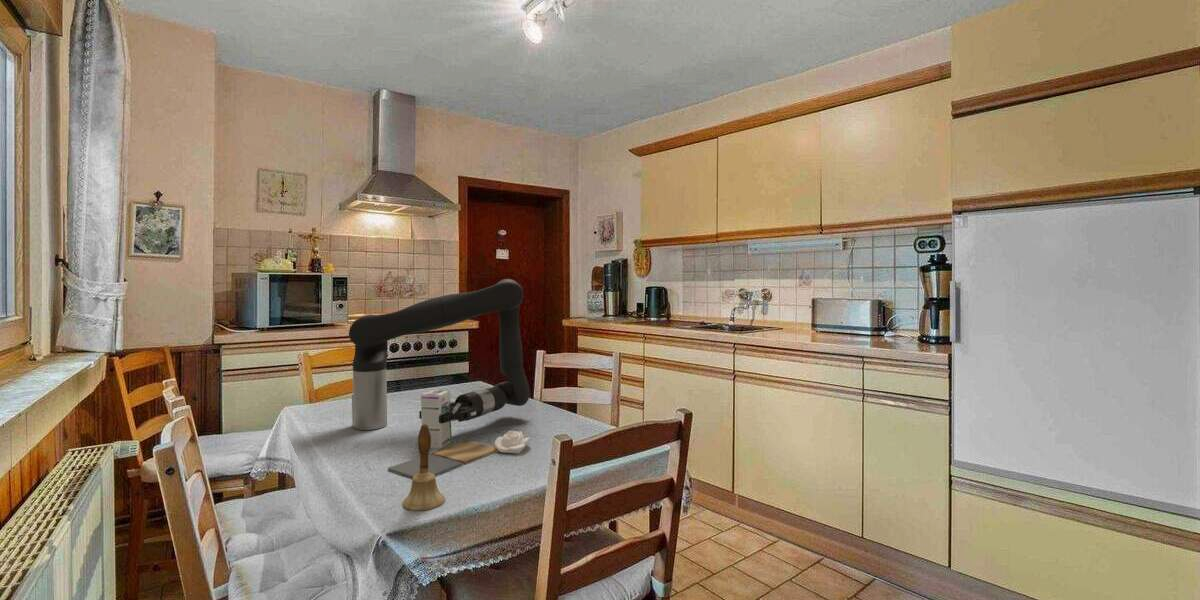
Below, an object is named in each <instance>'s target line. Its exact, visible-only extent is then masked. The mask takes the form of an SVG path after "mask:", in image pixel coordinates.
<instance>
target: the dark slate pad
mask: <svg viewBox="0 0 1200 600" xmlns="http://www.w3.org/2000/svg"><path fill="white" fill-rule="evenodd" d="M428 466H429V467H428V472H429V473H432V474H434V475H435V477H437V476H439V475H442V474H444V473H447V472H449V471H452V470H454V469H457V468H459V467H461V466H463V463H461V462H457V461H453V460H450V459H446V458H443V457H439V456H435V455H432V453H431V454H430V453H429V454H428ZM387 471H389V472H390V473H391V472H392V473H395V474H398V475H401V476H404V477H408V478H411V479H413V477H414V476H415V475H417V474H418V473H419V472H420V456H417V457H415V458H412V459H410V460H407V461H404V462H401V463H397V464H395V465H392V466H390V467H387Z"/></svg>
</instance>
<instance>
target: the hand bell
mask: <svg viewBox="0 0 1200 600" xmlns="http://www.w3.org/2000/svg"><path fill="white" fill-rule="evenodd" d="M430 446H431V435H430V432H429V429H428V425H422V424H421V425H420V429H419V432H418V437H417V448H418V452H419V457H420V472H419V473H418V474H417V475H415V476H414V477H413V478H411V479H412V481H411V487H410V490H409V493H408V495H407V496H406V497H405V498H404V500H403V501H402V507H403V508H404V509H407V510H410V511H429V510H432V509H436V508H438V507H440V506H442V505H443V504H444V503H445V502H446V498H445V496H444V494H443V493H441V492H440V489H439V488H438V485H437V480H436V476H435V475H434V474H432V473H429V472H428V467H429V466H428V454H430V450H431V448H430Z"/></svg>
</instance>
